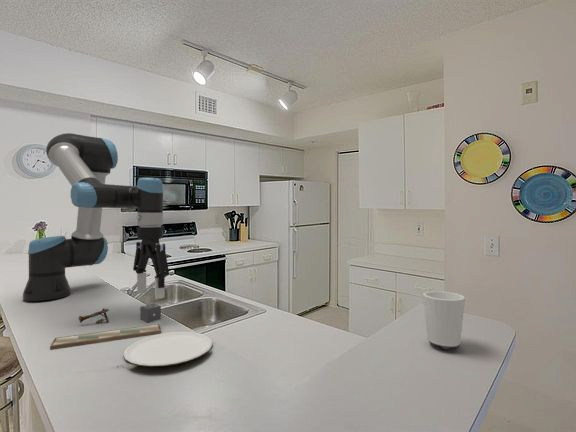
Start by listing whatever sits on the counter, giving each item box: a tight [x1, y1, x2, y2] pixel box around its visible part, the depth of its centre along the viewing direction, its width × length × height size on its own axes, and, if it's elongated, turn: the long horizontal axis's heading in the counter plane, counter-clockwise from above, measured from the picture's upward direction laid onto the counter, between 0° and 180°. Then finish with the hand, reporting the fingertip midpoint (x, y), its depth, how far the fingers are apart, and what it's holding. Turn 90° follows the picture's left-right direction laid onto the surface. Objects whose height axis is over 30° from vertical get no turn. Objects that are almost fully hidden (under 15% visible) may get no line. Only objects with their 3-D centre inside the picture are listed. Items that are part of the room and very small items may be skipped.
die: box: [139, 303, 162, 324], centre depth 106 cm, size 5×4×5 cm
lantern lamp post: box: [78, 308, 109, 324], centre depth 102 cm, size 4×2×8 cm
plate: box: [123, 331, 213, 368], centre depth 83 cm, size 21×21×1 cm
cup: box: [422, 290, 466, 350], centre depth 85 cm, size 10×10×13 cm
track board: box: [49, 323, 162, 351], centre depth 91 cm, size 6×26×1 cm, turn 116°
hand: (150, 295), depth 106 cm, fingers open, 10 cm apart
